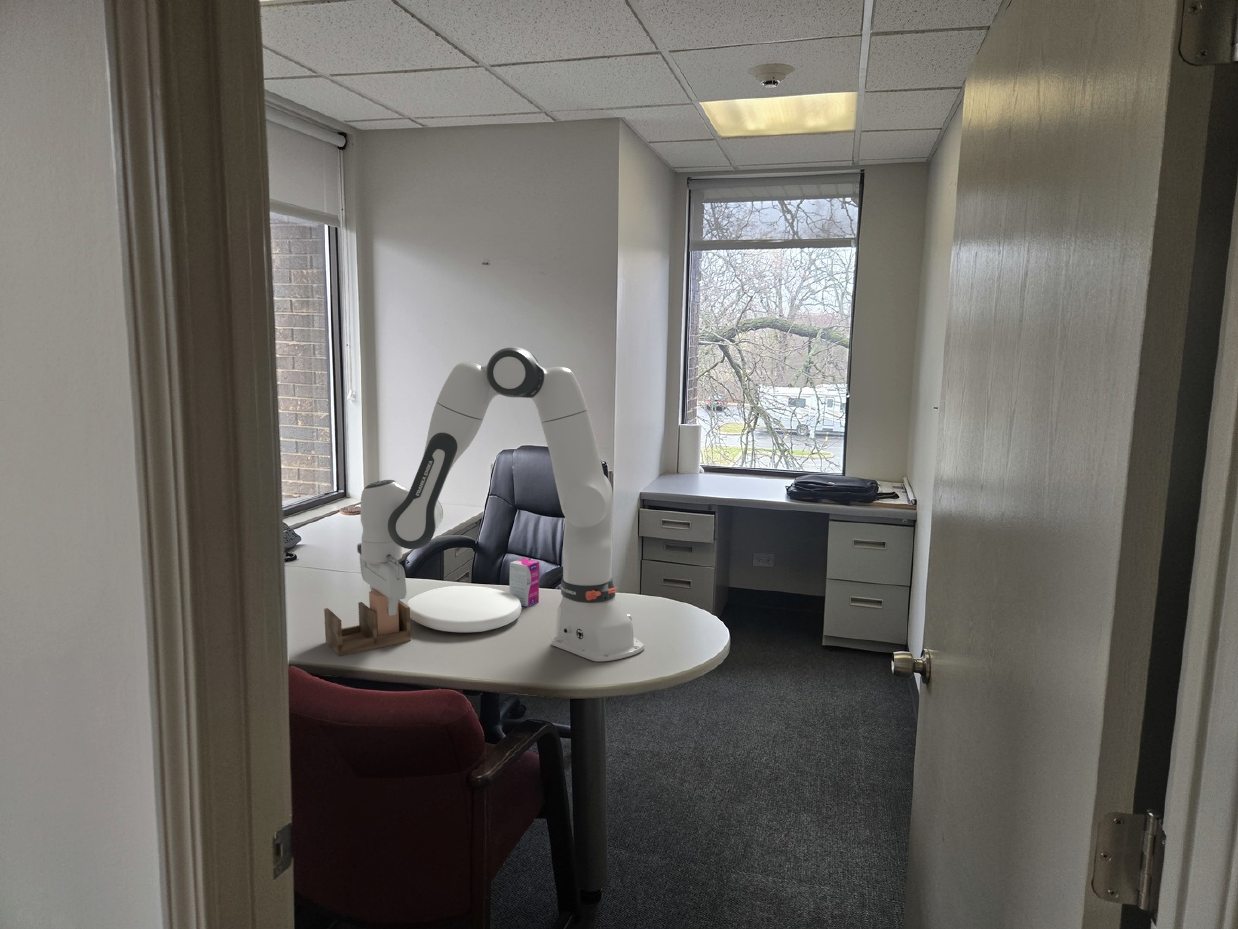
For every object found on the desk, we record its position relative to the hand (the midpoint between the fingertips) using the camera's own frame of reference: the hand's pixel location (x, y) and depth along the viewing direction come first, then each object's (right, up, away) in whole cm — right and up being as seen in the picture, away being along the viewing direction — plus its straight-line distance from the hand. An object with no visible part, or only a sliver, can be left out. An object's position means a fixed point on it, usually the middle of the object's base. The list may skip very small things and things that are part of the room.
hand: (384, 608), depth 189 cm
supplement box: (+29, -4, +27) cm, 40 cm away
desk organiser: (-3, -7, -1) cm, 8 cm away
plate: (+16, -6, +15) cm, 22 cm away
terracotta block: (0, -6, +1) cm, 6 cm away
